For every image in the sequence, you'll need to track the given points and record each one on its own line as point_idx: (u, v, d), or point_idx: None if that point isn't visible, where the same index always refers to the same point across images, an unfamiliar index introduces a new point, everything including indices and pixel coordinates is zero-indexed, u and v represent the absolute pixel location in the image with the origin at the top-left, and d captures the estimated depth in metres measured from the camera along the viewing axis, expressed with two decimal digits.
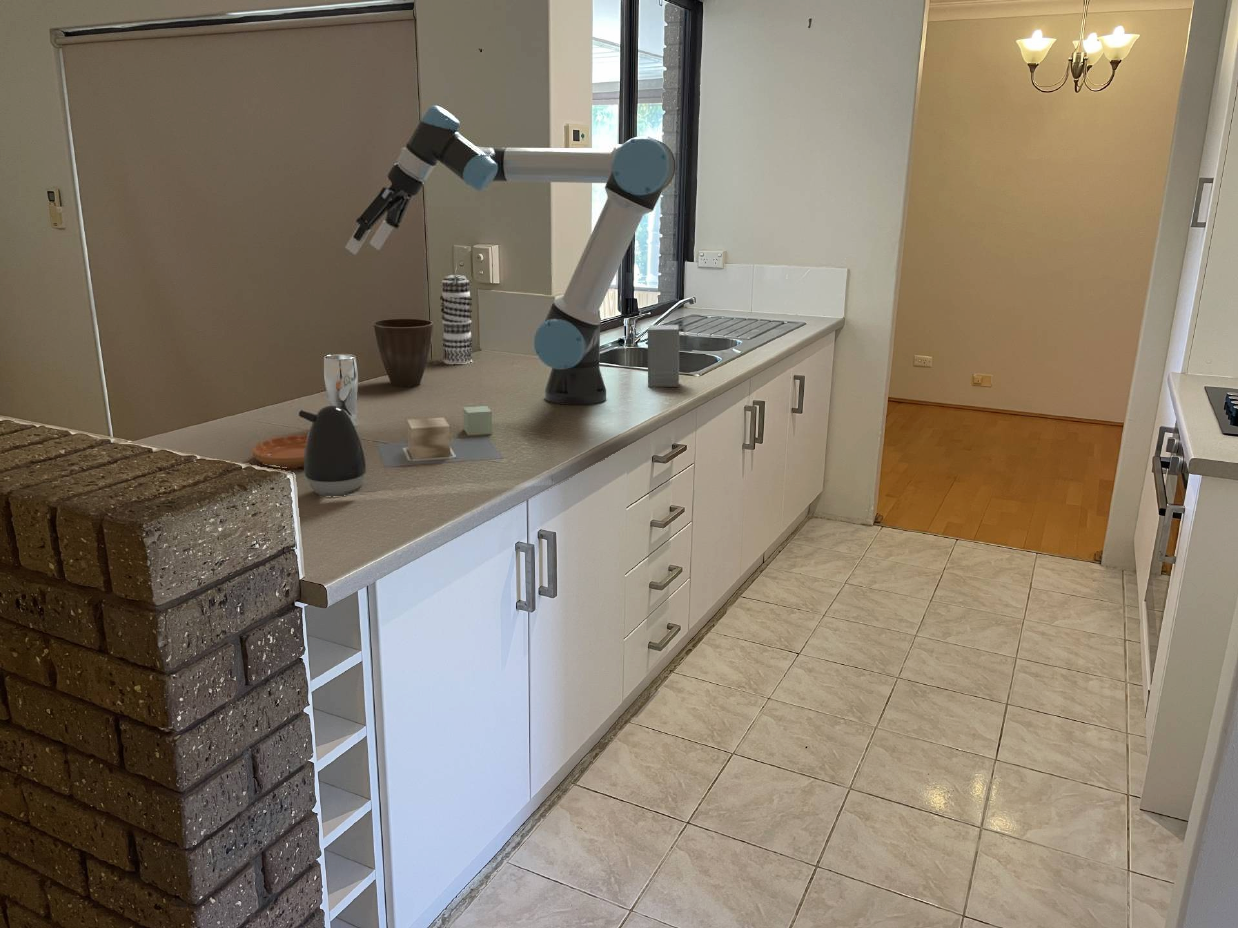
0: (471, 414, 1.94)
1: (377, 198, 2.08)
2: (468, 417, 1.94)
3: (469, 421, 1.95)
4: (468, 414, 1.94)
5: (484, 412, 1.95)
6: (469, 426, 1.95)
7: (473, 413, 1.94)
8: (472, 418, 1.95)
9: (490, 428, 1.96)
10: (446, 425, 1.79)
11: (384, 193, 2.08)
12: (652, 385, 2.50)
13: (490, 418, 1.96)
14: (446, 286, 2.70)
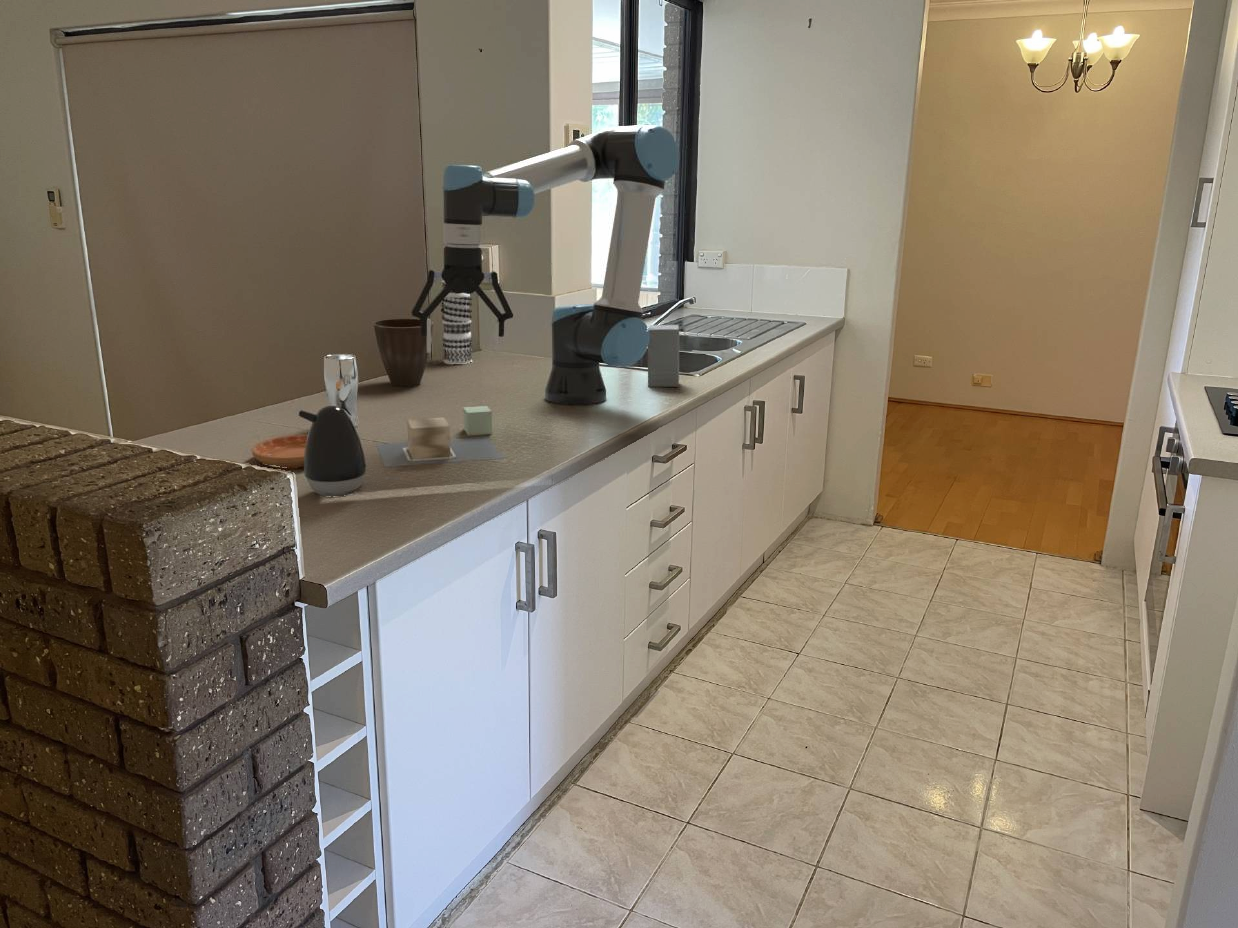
0: (471, 414, 1.94)
1: (499, 286, 1.92)
2: (468, 417, 1.94)
3: (469, 421, 1.95)
4: (468, 414, 1.94)
5: (484, 412, 1.95)
6: (469, 426, 1.95)
7: (473, 413, 1.94)
8: (472, 418, 1.95)
9: (490, 428, 1.96)
10: (446, 425, 1.79)
11: None
12: (652, 385, 2.50)
13: (490, 418, 1.96)
14: None
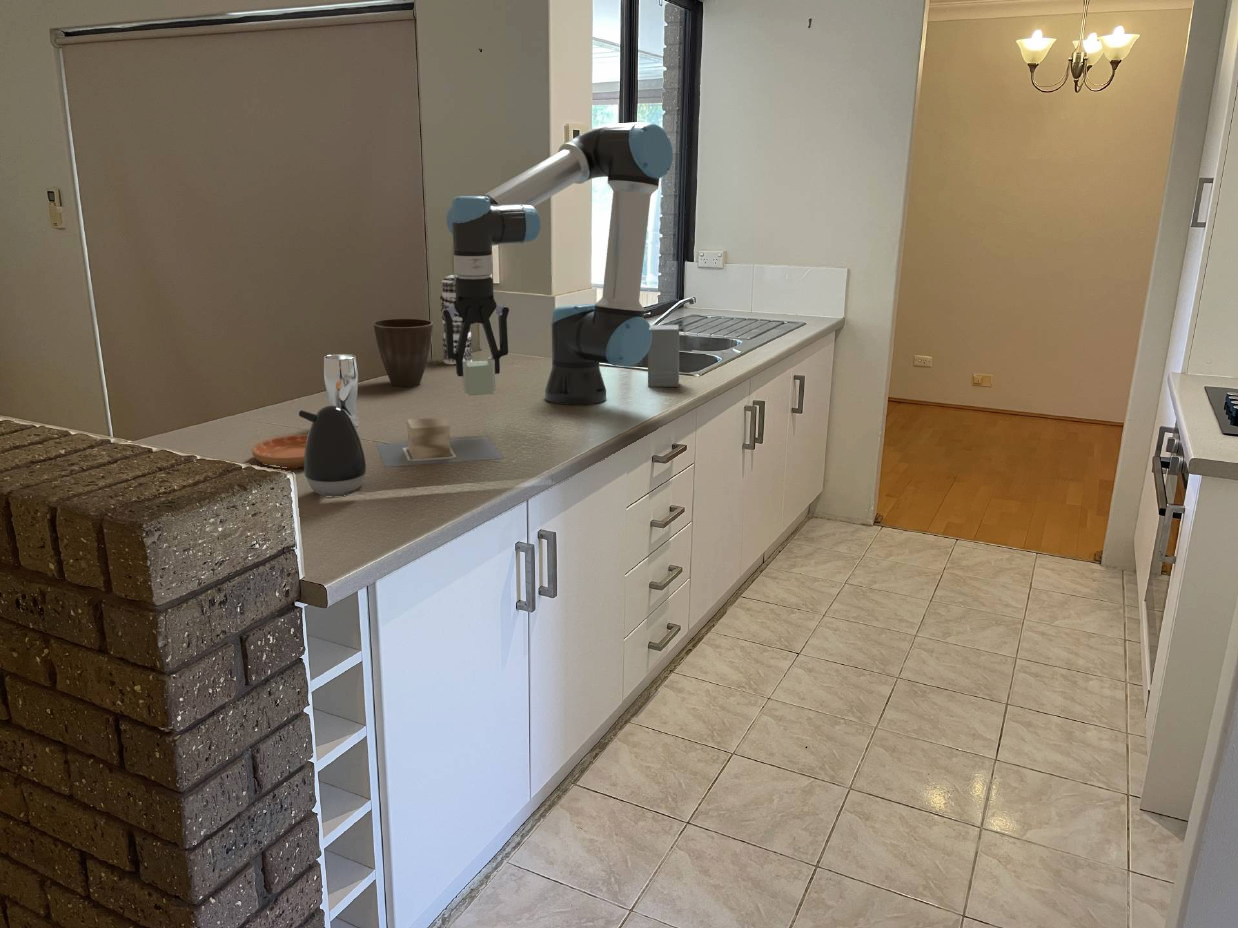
0: (472, 368, 1.92)
1: None
2: (469, 371, 1.92)
3: (470, 375, 1.92)
4: (469, 368, 1.92)
5: (485, 366, 1.93)
6: (470, 380, 1.92)
7: (474, 367, 1.92)
8: (473, 372, 1.92)
9: (491, 382, 1.94)
10: (446, 425, 1.79)
11: None
12: (652, 385, 2.50)
13: (491, 372, 1.93)
14: (446, 286, 2.70)
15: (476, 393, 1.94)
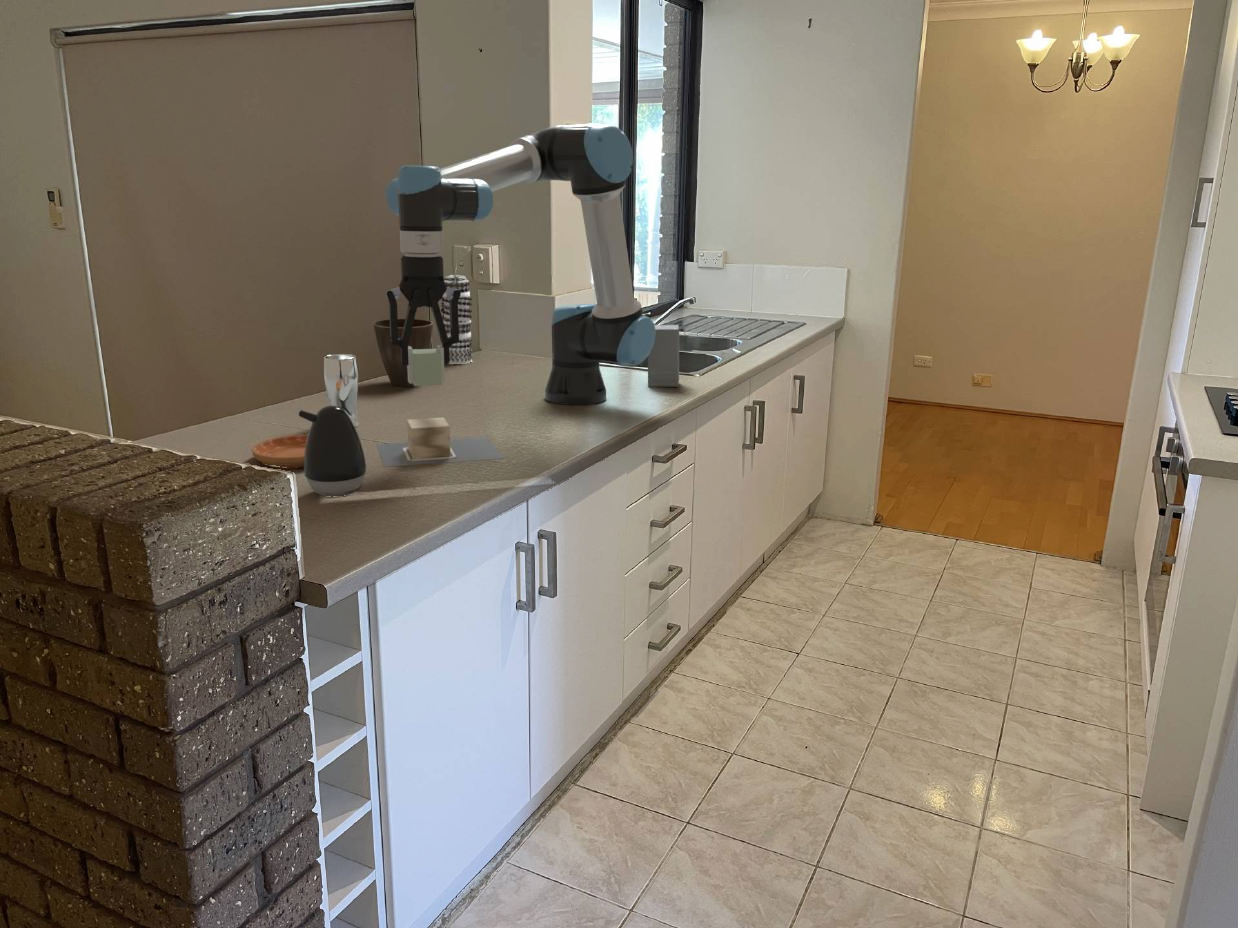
0: (418, 355, 1.74)
1: (457, 306, 1.75)
2: (414, 359, 1.74)
3: (415, 363, 1.74)
4: (414, 355, 1.74)
5: (432, 354, 1.75)
6: (415, 369, 1.74)
7: (420, 354, 1.74)
8: (419, 360, 1.74)
9: (439, 372, 1.76)
10: (446, 425, 1.79)
11: None
12: (652, 385, 2.50)
13: (439, 361, 1.75)
14: None
15: (422, 383, 1.75)
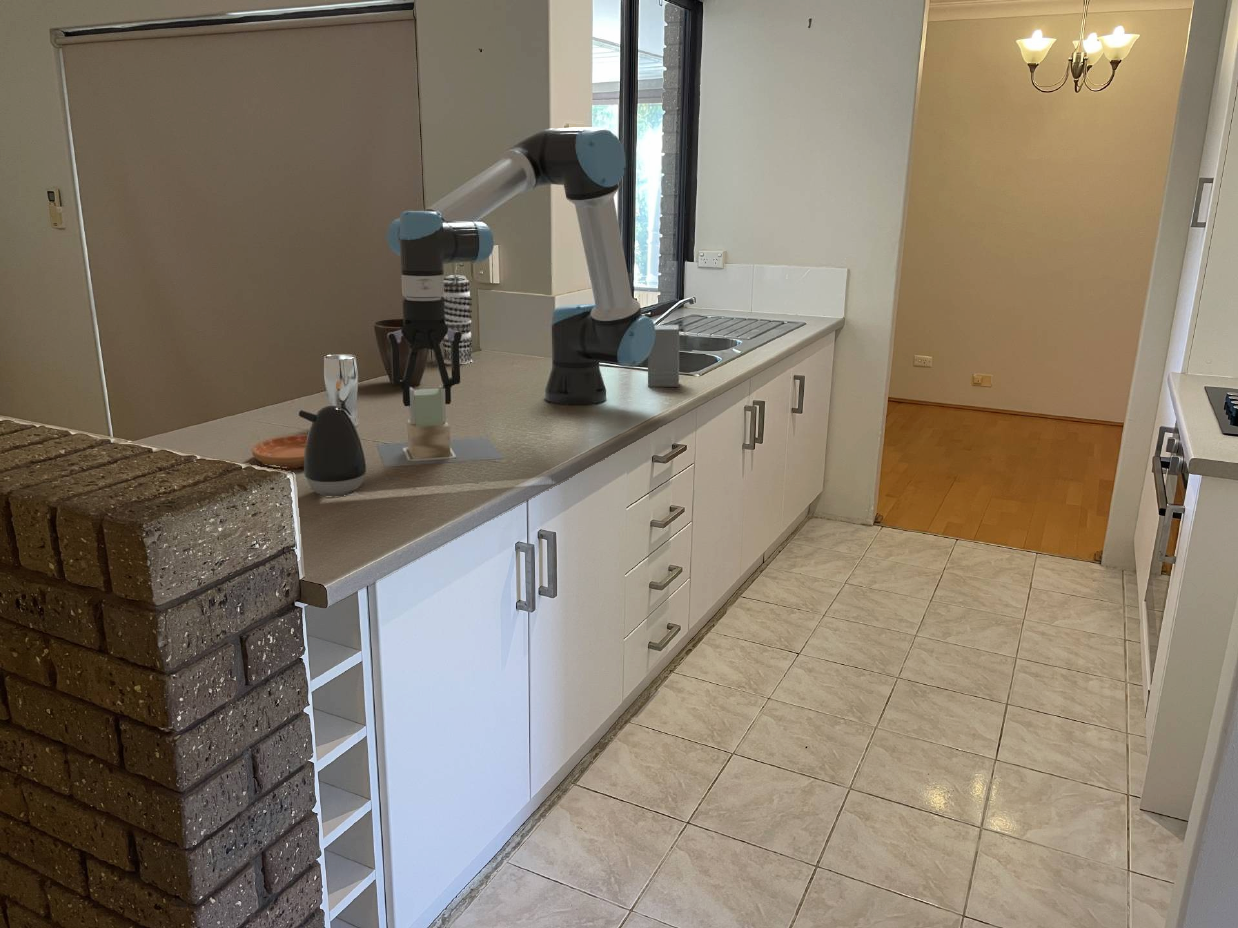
0: (419, 397, 1.76)
1: (458, 348, 1.77)
2: (416, 400, 1.76)
3: (417, 405, 1.76)
4: (416, 397, 1.75)
5: (434, 395, 1.77)
6: (417, 410, 1.76)
7: (421, 396, 1.76)
8: (420, 401, 1.76)
9: (441, 413, 1.78)
10: (446, 425, 1.79)
11: None
12: (652, 385, 2.50)
13: (440, 402, 1.77)
14: (446, 286, 2.70)
15: (424, 424, 1.77)
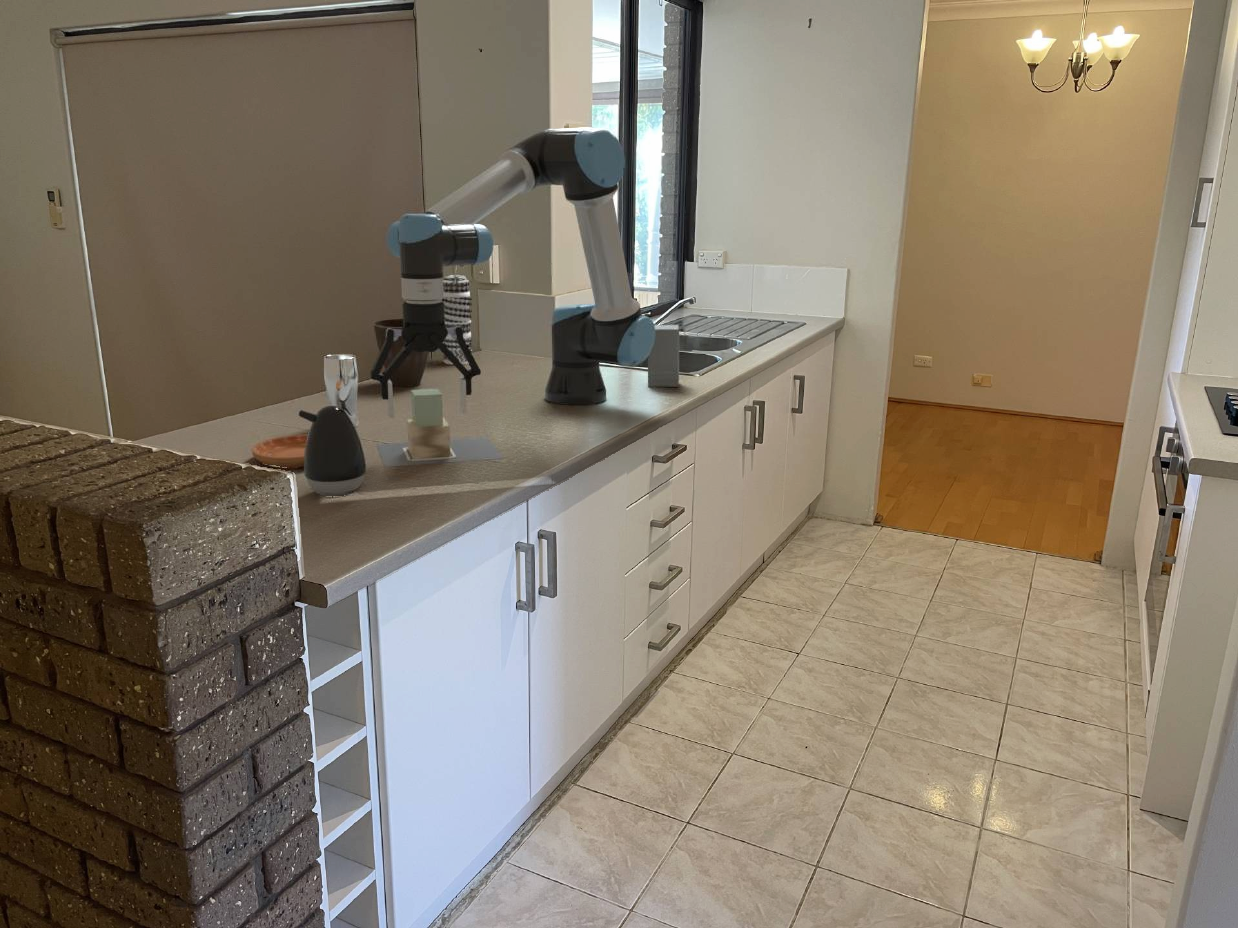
0: (419, 397, 1.76)
1: (464, 341, 1.77)
2: (416, 400, 1.76)
3: (417, 405, 1.76)
4: (415, 397, 1.75)
5: (433, 395, 1.77)
6: (417, 410, 1.76)
7: (421, 396, 1.76)
8: (420, 401, 1.76)
9: (440, 413, 1.78)
10: (446, 425, 1.79)
11: None
12: (652, 385, 2.50)
13: (440, 402, 1.77)
14: (446, 286, 2.70)
15: (424, 424, 1.77)
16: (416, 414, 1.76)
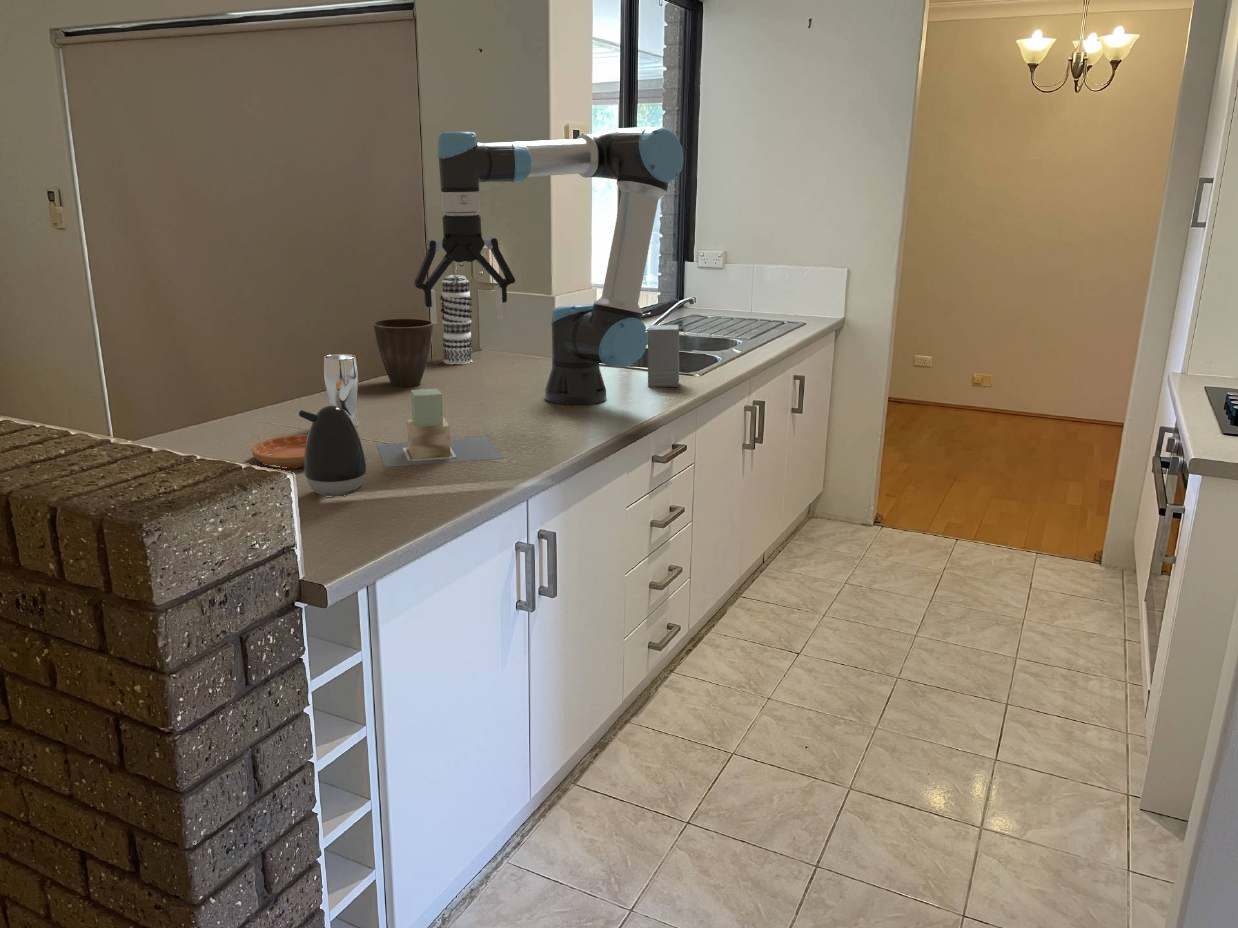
0: (419, 397, 1.76)
1: None
2: (416, 400, 1.76)
3: (417, 405, 1.76)
4: (415, 397, 1.75)
5: (433, 395, 1.77)
6: (417, 410, 1.76)
7: (421, 396, 1.76)
8: (420, 401, 1.76)
9: (440, 413, 1.78)
10: (446, 425, 1.79)
11: None
12: (652, 385, 2.50)
13: (440, 402, 1.77)
14: (446, 286, 2.70)
15: (424, 424, 1.77)
16: (416, 414, 1.76)
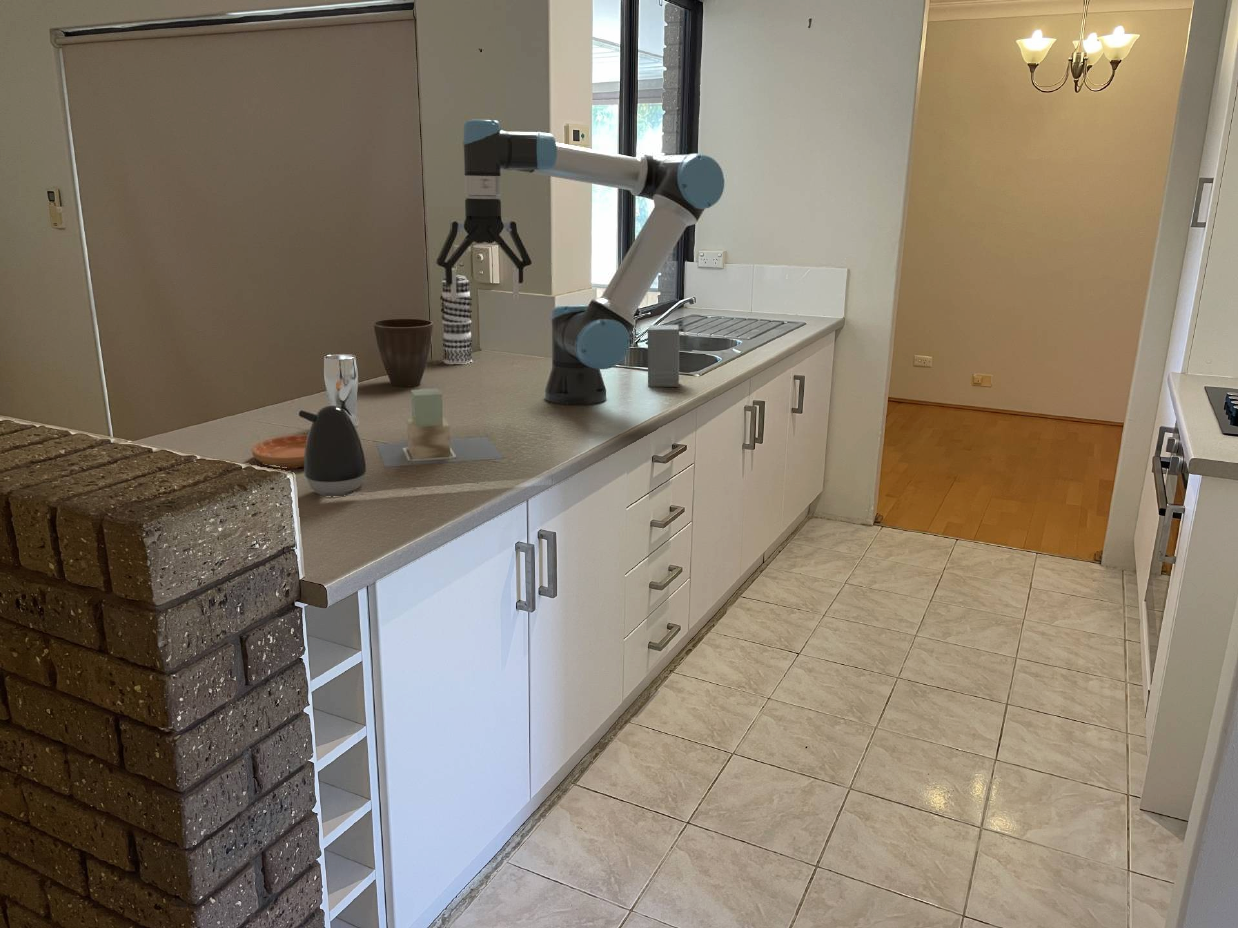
0: (419, 397, 1.76)
1: None
2: (416, 400, 1.76)
3: (417, 405, 1.76)
4: (415, 397, 1.75)
5: (433, 395, 1.77)
6: (417, 410, 1.76)
7: (421, 396, 1.76)
8: (420, 401, 1.76)
9: (440, 413, 1.78)
10: (446, 425, 1.79)
11: None
12: (652, 385, 2.50)
13: (440, 402, 1.77)
14: (446, 286, 2.70)
15: (424, 424, 1.77)
16: (416, 414, 1.76)
